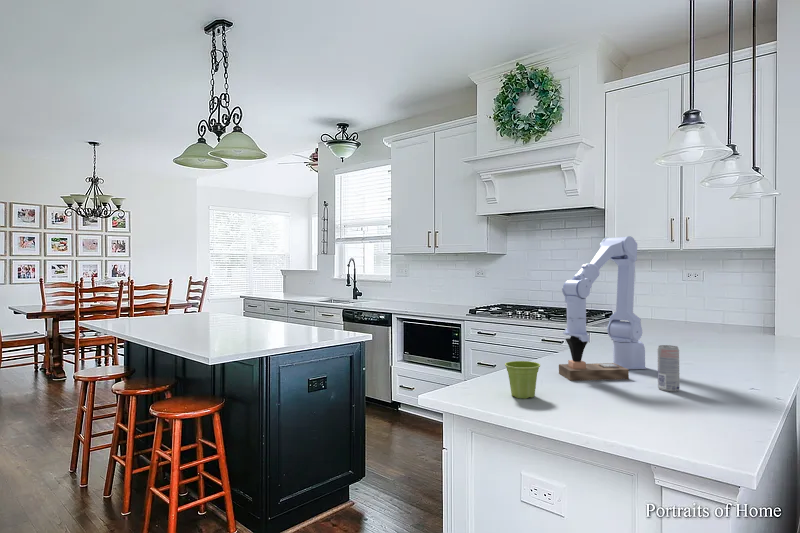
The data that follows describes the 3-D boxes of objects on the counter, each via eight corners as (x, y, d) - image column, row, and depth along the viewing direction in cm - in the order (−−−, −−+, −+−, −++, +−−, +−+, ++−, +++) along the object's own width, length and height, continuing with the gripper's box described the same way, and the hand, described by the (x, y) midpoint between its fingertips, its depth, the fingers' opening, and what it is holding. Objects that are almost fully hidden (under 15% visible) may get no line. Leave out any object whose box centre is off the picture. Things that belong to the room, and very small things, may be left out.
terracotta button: (580, 369, 164) (580, 359, 164) (585, 372, 160) (585, 362, 160) (568, 369, 164) (568, 360, 164) (573, 372, 160) (572, 362, 160)
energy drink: (674, 387, 147) (674, 345, 147) (682, 391, 142) (682, 348, 142) (654, 387, 148) (654, 345, 148) (662, 391, 142) (662, 348, 142)
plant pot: (502, 399, 137) (502, 366, 137) (507, 390, 146) (507, 359, 146) (539, 401, 134) (538, 368, 134) (542, 393, 143) (541, 361, 143)
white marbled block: (611, 372, 164) (611, 363, 164) (617, 375, 160) (617, 366, 160) (599, 373, 164) (599, 363, 164) (604, 376, 160) (604, 366, 160)
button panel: (613, 372, 168) (613, 363, 168) (628, 379, 158) (628, 369, 158) (558, 373, 167) (558, 364, 167) (570, 380, 157) (570, 370, 157)
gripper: (555, 315, 169) (556, 357, 169) (572, 320, 154) (572, 366, 155) (577, 315, 169) (577, 356, 169) (595, 320, 155) (596, 365, 155)
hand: (576, 361), depth 162 cm, fingers closed, pressing on terracotta button
